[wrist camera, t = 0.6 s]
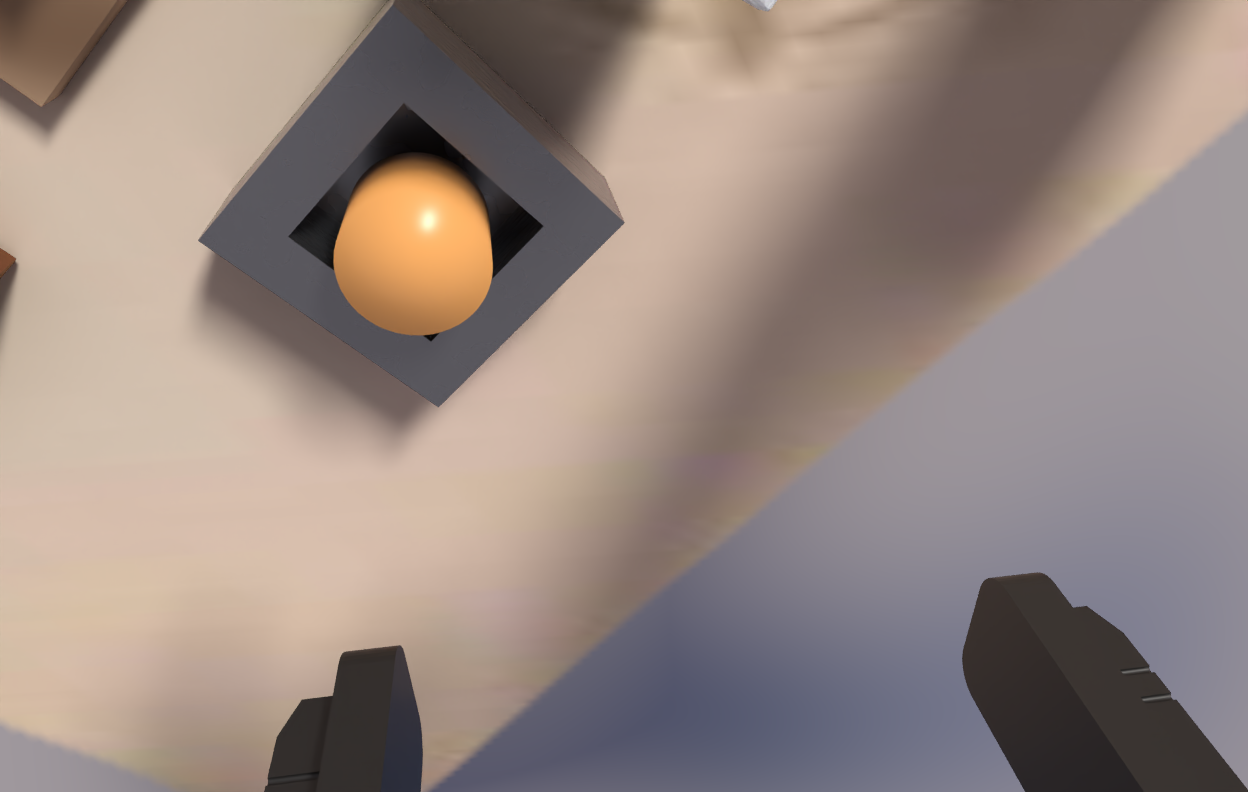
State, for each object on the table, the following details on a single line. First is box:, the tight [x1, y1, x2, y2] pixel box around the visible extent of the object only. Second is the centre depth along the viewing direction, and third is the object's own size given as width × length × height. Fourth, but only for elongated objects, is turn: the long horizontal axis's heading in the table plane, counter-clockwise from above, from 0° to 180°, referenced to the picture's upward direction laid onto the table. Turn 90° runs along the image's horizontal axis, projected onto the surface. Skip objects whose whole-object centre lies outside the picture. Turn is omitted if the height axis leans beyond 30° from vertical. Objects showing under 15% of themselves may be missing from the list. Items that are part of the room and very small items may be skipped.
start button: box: [334, 152, 493, 335], centre depth 29 cm, size 5×5×4 cm
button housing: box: [198, 0, 625, 407], centre depth 32 cm, size 10×10×5 cm
